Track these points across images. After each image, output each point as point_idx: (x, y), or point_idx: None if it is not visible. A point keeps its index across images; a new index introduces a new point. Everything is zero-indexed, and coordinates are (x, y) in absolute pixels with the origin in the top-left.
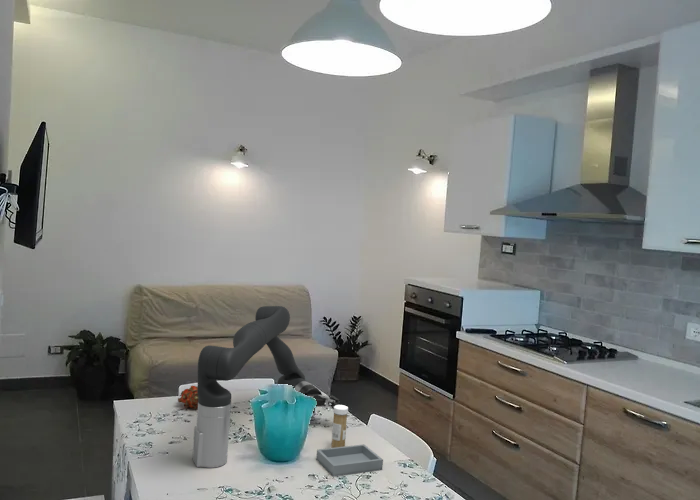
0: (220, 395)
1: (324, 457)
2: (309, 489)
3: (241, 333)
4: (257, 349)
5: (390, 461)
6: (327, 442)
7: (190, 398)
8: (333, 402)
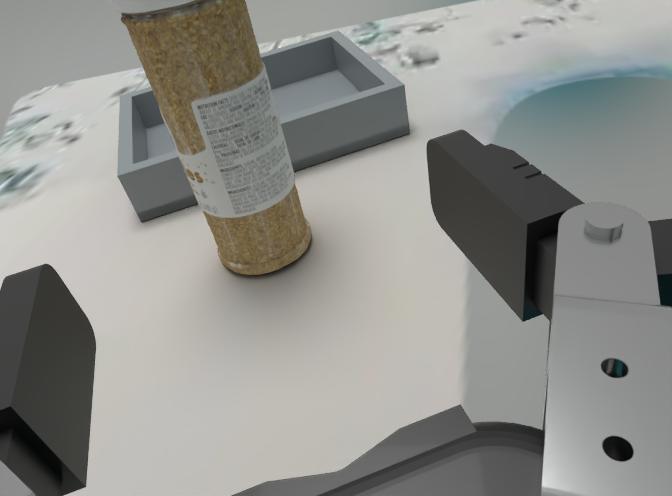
0: None
1: (369, 57)
2: (427, 20)
3: None
4: None
5: (56, 189)
6: (322, 314)
7: None
8: (8, 370)
